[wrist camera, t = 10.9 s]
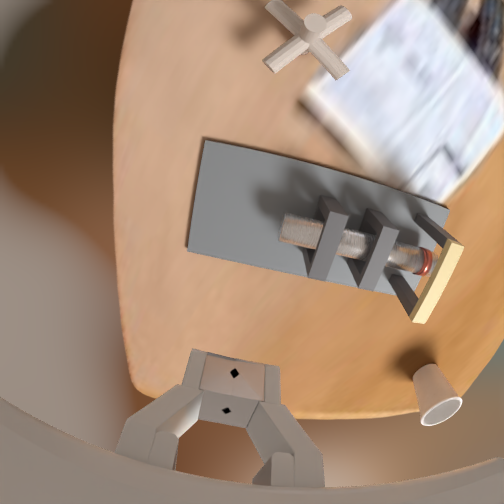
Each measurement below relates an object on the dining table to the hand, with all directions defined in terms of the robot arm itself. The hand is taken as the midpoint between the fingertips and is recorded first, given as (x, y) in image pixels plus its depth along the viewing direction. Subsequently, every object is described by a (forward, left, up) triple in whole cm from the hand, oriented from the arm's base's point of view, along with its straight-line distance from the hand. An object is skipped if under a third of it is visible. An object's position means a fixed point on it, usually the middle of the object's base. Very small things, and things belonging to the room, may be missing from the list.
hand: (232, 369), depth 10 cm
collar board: (+3, +9, -27) cm, 29 cm away
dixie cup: (+26, +39, -28) cm, 55 cm away
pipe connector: (-17, +1, -28) cm, 32 cm away
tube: (+3, +14, -25) cm, 29 cm away
